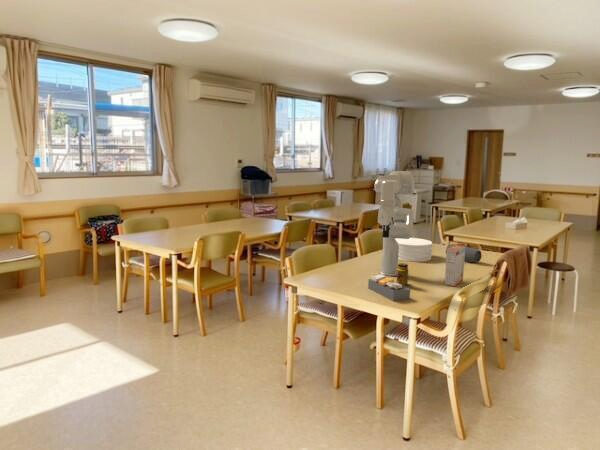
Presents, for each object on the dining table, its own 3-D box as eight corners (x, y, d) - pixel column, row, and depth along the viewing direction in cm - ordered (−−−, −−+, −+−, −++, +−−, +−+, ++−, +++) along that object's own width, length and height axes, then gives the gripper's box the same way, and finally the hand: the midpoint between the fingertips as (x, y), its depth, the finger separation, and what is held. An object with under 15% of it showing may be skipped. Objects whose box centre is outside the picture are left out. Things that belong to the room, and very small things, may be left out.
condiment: (393, 285, 253) (394, 264, 251) (400, 282, 259) (401, 261, 257) (405, 287, 248) (406, 266, 246) (412, 284, 254) (413, 263, 253)
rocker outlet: (396, 287, 233) (397, 282, 233) (401, 289, 229) (402, 285, 229) (386, 286, 230) (387, 281, 230) (391, 288, 226) (392, 284, 226)
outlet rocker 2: (389, 281, 239) (388, 277, 238) (393, 283, 235) (393, 279, 234) (378, 284, 237) (378, 280, 236) (383, 287, 233) (383, 282, 232)
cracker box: (453, 279, 266) (455, 244, 263) (463, 281, 263) (466, 246, 259) (443, 284, 256) (446, 248, 252) (454, 286, 252) (457, 249, 249)
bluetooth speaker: (444, 258, 322) (445, 244, 320) (452, 256, 327) (453, 243, 326) (473, 264, 304) (474, 250, 302) (481, 263, 309) (482, 248, 308)
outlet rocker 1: (381, 278, 245) (381, 273, 245) (386, 280, 241) (385, 275, 241) (371, 281, 243) (371, 276, 243) (376, 283, 239) (375, 279, 239)
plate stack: (436, 256, 328) (437, 240, 326) (424, 263, 305) (425, 247, 303) (399, 251, 343) (399, 236, 341) (384, 257, 320) (385, 241, 318)
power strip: (383, 286, 250) (384, 277, 249) (409, 298, 229) (410, 289, 228) (368, 288, 246) (368, 278, 245) (393, 301, 225) (393, 291, 224)
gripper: (373, 202, 250) (372, 235, 253) (389, 205, 236) (387, 240, 239) (385, 202, 253) (383, 234, 256) (401, 205, 239) (399, 239, 242)
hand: (385, 237), depth 248 cm, fingers closed
